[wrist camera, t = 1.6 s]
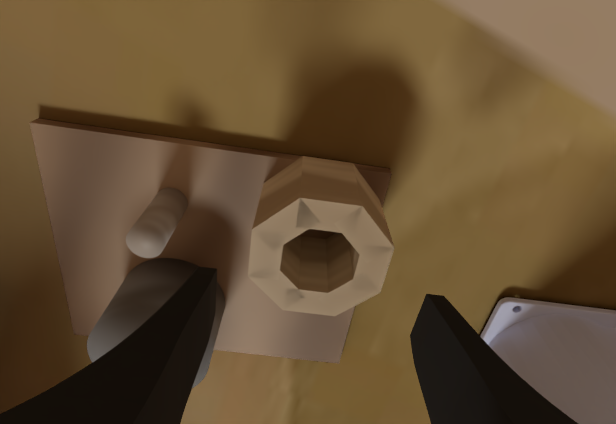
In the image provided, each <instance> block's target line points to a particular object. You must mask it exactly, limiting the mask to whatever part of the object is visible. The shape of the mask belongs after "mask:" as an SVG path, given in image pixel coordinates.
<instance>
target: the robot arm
mask: <svg viewBox="0 0 616 424" xmlns="http://www.w3.org/2000/svg"><path fill="white" fill-rule="evenodd" d="M216 287H217V269H216V268H208V267H200V266H199V267H197V268H196V269H195V270H194V271H193V272H192V274H191V275H190V276H189V277H188V278H187V280H186V281H185V282H184V283H183V284H182V285H181V286H180V288H179V289H178V290H177V291H176V292H175V293H174V294H173V295H172V296H171V297H170V298H169V299H168V300H167V301H166V302H165V303H164V304H163V305H162V306H161V307H160V308H159V309H158V310H157V311H156V312H155V313H154V314H153V315H152V316H151V317H150V318H149V319H148V320H146V321H145V322H144V323H143V324H142V325H141V326H140V327H139V328H138V329H136V330H135V331H134V332H133V333H132V334H130V335H129V336H128V337H127V338H125V339H124V340H123V341H122V342H120V343H119V344H118V345H116V346H115V347H114V348H112V349H111V350H110V351H108V352H107V353H105V354H104V355H103V356H101V357H100V358H98V359H97V360H96V361H94V362H93V363H91V364H90V365H88V366H87V367H85V368H84V369H82V370H80V371H79V372H77V373H75V374H74V375H72V376H71V377H69V378H67V379H66V380H64V381H62V382H61V383H59V384H57V385H56V386H54V387H52V388H50V389H49V390H47V391H45V392H43V393H41V394H40V395H38V396H36V397H34V398H32V399H30V400H28V401H26V402H24V403H22V404H20V405H18V406H16V407H14V408H12V409H10V410H8V411H6V412H4V413H2V414H0V424H180V422H181V419H182V415H183V412H184V409H185V406H186V403H187V400H188V397H189V395H190V392H191V389H192V386H193V384H194V381H195V378H196V375H197V373H198V370H199V367H200V364H201V362H202V359H203V356H204V353H205V351H206V348H207V345H208V342H209V338H210V334H211V330H212V326H213V322H214V317H215V311H216ZM515 306H517V307H515ZM514 307H515V308H514ZM410 338H411V346H412V353H413V359H414V364H415V368H416V372H417V375H418V379H419V383H420V386H421V390H422V393H423V397H424V400H425V403H426V407H427V410H428V414H429V417H430V421H431V424H616V310H608V309H600V308H592V307H584V306H576V305H568V304H560V303H552V302H544V301H536V300H527V299H519V298H511V297H505V298H502V299H501V300H499V302H498V303H497V305H496V307H495V309H494V311H493V313H492V315H491V316H490V318H489V320H488V322H487V324H486V326H485V328H484V330H483V332H482V334H481V336H479V335H478V334H477V332H476V331H475V330H474V329H473V328H472V327H471V326H470V325H469V324H468V322H467V321H466V320H465V319H464V318H463V317H462V316H461V314H460V313H459V312H458V311H457V310H456V309H455V308H454V307H453V305H452V304H451V303H450V302H449V301H448V300H447V299H446V298H445V297H444V296H440V295H432V294H426V296H425V299H424V302H423V304H422V307H421V309H420V312H419V314H418V317H417V319H416V322H415V324H414V327H413V330H412V332H411V335H410Z"/></svg>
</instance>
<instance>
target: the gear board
mask: <svg viewBox="0 0 616 424" xmlns="http://www.w3.org/2000/svg"><path fill="white" fill-rule="evenodd" d="M30 127H31V131H32V136H33V141H34V146H35V150H36V155H37V160H38V165H39V170H40V174H41V179H42V184H43V189H44V193H45V198H46V203H47V208H48V212H49V217H50V222H51V227H52V231H53V236H54V241H55V246H56V250H57V255H58V260H59V265H60V269H61V274H62V279H63V284H64V288H65V293H66V298H67V303H68V307H69V312H70V317H71V322H72V326H73V331H74V334H75V335H85V336H89V337H88V341H87V351H88V354H89V357H90V359H91V361H92V363H93V362H94V361H96V360H97V359H98V358H100V357H101V356H103V355H104V354H105V353H107V352H108V351H110V350H111V349H112V348H114V347H115V346H116V345H118V344H119V343H120V342H122V341H123V340H124V339H125V338H127V337H128V336H129V335H130V334H132V333H133V332H134V331H135V330H136V329H138V328H139V327H140V326H141V325H142V324H143V323H144V322H145V321H146V320H148V319H149V318H150V317H151V316H152V315H153V314H154V313H155V312H156V311H157V310H158V309H159V308H160V307H161V306H162V305H163V304H164V303H165V302H166V301H167V300H168V299H169V298H170V297H171V296H172V295H173V294H174V293H175V292H176V291H177V290H178V289H179V288H180V286H181V285H182V284H183V283H184V282H185V281H186V280H187V278H188V277H189V276H190V275H191V274H192V272H193V271H194V270H195V269H196V268H197V267H199V266H200V267H208V268H216V269H217V287H216V311H215V317H214V322H213V326H212V330H211V334H210V338H209V342H208V345H207V348H206V351H205V353H204V356H203V359H202V362H201V364H200V367H199V370H198V373H197V375H196V378H195V381H194V384H193V386H192V388H193V387H195V386H196V385H198V384H199V383H200V382H201V381H202V380H203V379H204V377H205V375H206V374H207V371H208V368H209V364H210V360H211V357H212V353H213V350H221V351H230V352H239V353H249V354H258V355H267V356H276V357H285V358H294V359H303V360H312V361H321V362H331V363H339V362H340V358H341V354H342V351H343V347H344V344H345V340H346V336H347V333H348V329H349V326H350V322H351V318H352V315H353V311H354V308H355V306H354V307H352V308H350V309H348V310H346V311H344V312H342V313H340V314H338V315H337V316H329V315H320V314H312V313H303V312H295V311H286V310H282V309H281V308H280V307H279V306H278V305H277V304H276V303H275V302H274V301H273V300H272V299H271V298H270V297H269V296H268V295H267V294H265V293H264V292H263V291H262V290H261V289H260V288H259V287H258V286H257V285H256V284H255V283H254V282H253V281H252V280H251V279H250V278H249V277H248V268H249V257H250V246H251V235H252V227H253V223H254V219H255V215H256V211H257V207H258V203H259V199H260V195H261V191H262V187H263V183H265V182H266V181H267V180H269V179H270V178H272V177H273V176H275V175H276V174H278V173H279V172H280V171H282V170H283V169H285V168H286V167H288V166H289V165H290V164H292V163H293V162H295V161H296V160H298V159H299V158H301V157H302V156H298V155H291V154H284V153H277V152H270V151H263V150H256V149H249V148H242V147H235V146H228V145H221V144H214V143H207V142H200V141H193V140H186V139H179V138H172V137H165V136H158V135H151V134H144V133H137V132H130V131H123V130H116V129H109V128H102V127H95V126H88V125H81V124H74V123H67V122H60V121H53V120H46V119H39V118H38V119H36V120H34V121H32V122H30ZM353 164H354V163H353ZM354 165H355V167H356V168H357V169H358V171H359V172H360V174H361V175H362V176H363V178H364V179H365V180H366V182H367V183H368V184H369V186H370V187H371V189H372V190H373V191H374V193H375V194H376V195H377V197H378V198H379V200H380V203H381V206H382V207H383V203H384V200H385V196H386V192H387V189H388V185H389V182H390V178H391V174H392V173H391V171H390V169H389V168H382V167H375V166H368V165H361V164H354ZM335 233H337V232H331V231H323V230H315V229H308V230H306V231H305V232H303V233H302V234H300V235H301V236H305V237H313V238H320V239H327V238H328V237H330V236H332V235H333V234H335Z"/></svg>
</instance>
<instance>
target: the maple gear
mask: <svg viewBox="0 0 616 424" xmlns="http://www.w3.org/2000/svg"><path fill="white" fill-rule="evenodd" d="M308 229H315V230H323V231H331V232H337V233H335V234H333V235H332V236H330V237H328V238H327V239H320V238H313V237H305V236H301V235H300V234H302V233H303V232H305V231H306V230H308ZM393 251H394V245H393V242H392V238H391V235H390V232H389V229H388V226H387V222H386V219H385V216H384V213H383V209H382V206H381V203H380V200H379V198H378V197H377V195H376V194H375V193H374V191H373V190H372V189H371V187H370V186H369V184H368V183H367V182H366V180H365V179H364V178H363V176H362V175H361V174H360V172H359V171H358V169H357V168H356V167H355V165H354V164H353V163H349V162H342V161H335V160H328V159H321V158H314V157H307V156H302V157H301V158H299V159H298V160H296V161H295V162H293V163H292V164H290V165H289V166H288V167H286V168H285V169H283V170H282V171H280V172H279V173H278V174H276V175H275V176H273V177H272V178H270V179H269V180H267V181H266V182H265V183H263V187H262V191H261V195H260V199H259V203H258V207H257V211H256V215H255V219H254V223H253V227H252V235H251V246H250V257H249V268H248V277H249V278H250V279H251V280H252V281H253V282H254V283H255V284H256V285H257V286H258V287H259V288H260V289H261V290H262V291H263V292H264V293H265V294H267V295H268V296H269V297H270V298H271V299H272V300H273V301H274V302H275V303H276V304H277V305H278V306H279V307H280V308H281V309H282V310H286V311H295V312H303V313H312V314H320V315H329V316H337V315H338V314H340V313H342V312H344V311H346V310H348V309H350V308H352V307H354V306H356V305H358V304H359V303H361V302H363V301H365V300H367V299H369V298H371V297H373V296H375V295H377V294H379V293H380V292H381V289H382V286H383V283H384V279H385V276H386V273H387V270H388V267H389V264H390V260H391V257H392V254H393Z"/></svg>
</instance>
